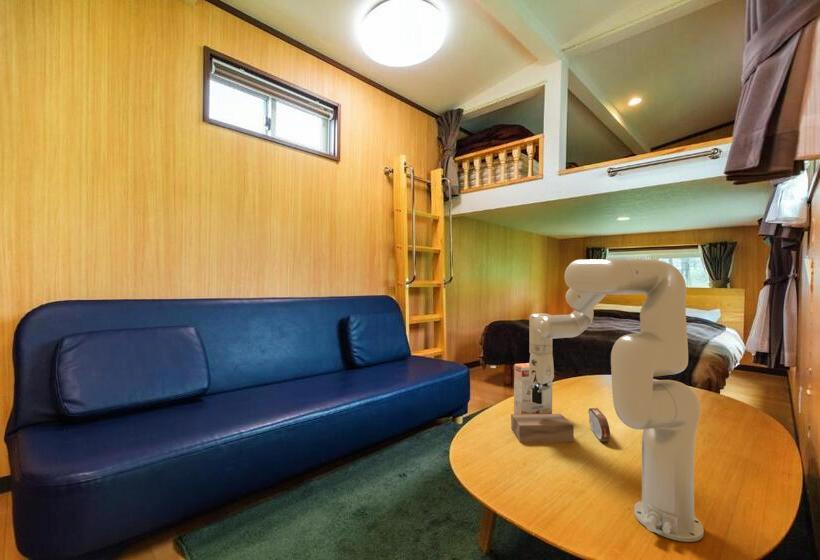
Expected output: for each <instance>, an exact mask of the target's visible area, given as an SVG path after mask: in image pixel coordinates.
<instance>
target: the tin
mask: <svg viewBox="0 0 820 560" xmlns="http://www.w3.org/2000/svg"><path fill="white" fill-rule="evenodd" d="M588 418H589V420H588V422H589V426H590V429H591V431H592V432H593V434H594V435H595V437H596V438H597V439H598V441H599V442H607V443H609V442H610V441H611V430H610V424H609V422H608V420H607V419H608V418H607V417H606V416H605V414H604V413H603V412H602V411H601V410H600V409H599V407H591V408H589V409H588Z"/></svg>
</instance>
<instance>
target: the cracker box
mask: <svg viewBox="0 0 820 560" xmlns="http://www.w3.org/2000/svg"><path fill="white" fill-rule="evenodd" d="M513 365H514V367H513V368H514V370H513V371H514V372H513V373H514V376H513V377H514V381H513V382H514V383H513V386H514V387H513V414H553V380H552V381H550V383H549V384H550V387H551V402H550V403H548V404H546V405H541V404H537V403H533V402H531V387H530V385H529V382H530V380H529V362H526V363H515V364H513ZM535 382H537V383H538V381H535ZM535 385H537V384H535Z"/></svg>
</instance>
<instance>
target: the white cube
mask: <svg viewBox="0 0 820 560" xmlns="http://www.w3.org/2000/svg"><path fill="white" fill-rule="evenodd" d="M536 386H537V387H538V384H537V385H536ZM531 389H532V388H531ZM540 392H542V403H541V405H546V404H548V403H550V402H551V387H546V386H542V385H541V391H540ZM531 402H532V390H531ZM533 403H534V402H533Z"/></svg>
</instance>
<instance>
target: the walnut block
mask: <svg viewBox="0 0 820 560" xmlns="http://www.w3.org/2000/svg"><path fill="white" fill-rule="evenodd" d="M510 417H511V421H510V423H511V424H510V427H511V428H510V429H512V430H511V431H513V432H512V433H513V435H514V434H515V435H514V436H515V438H516V439H517V441H518V442H519V443H575V442H574V441H575V439H574V435H575V434H574V433H575V432H574V431H575V430H574V424H573V423H572V422H571V421H570V420H569V419H567V418H566V417H565V416H564V415H563V414H561V413H552V414H514V413H511V414H510Z"/></svg>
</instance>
